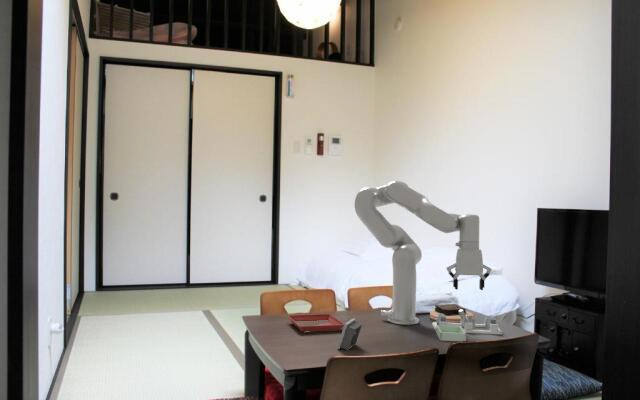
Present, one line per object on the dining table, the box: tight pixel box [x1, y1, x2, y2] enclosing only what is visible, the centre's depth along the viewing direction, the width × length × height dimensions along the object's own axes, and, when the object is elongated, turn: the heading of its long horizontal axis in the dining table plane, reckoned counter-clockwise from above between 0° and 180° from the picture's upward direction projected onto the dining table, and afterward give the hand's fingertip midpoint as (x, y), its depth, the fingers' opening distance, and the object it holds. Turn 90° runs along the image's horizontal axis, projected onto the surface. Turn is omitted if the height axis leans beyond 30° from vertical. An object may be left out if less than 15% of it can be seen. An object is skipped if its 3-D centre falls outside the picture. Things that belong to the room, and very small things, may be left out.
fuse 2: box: [486, 315, 497, 331], centre depth 210 cm, size 2×7×5 cm, turn 175°
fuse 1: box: [437, 313, 447, 325], centre depth 212 cm, size 2×7×5 cm, turn 175°
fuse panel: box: [431, 315, 503, 335], centre depth 211 cm, size 25×11×4 cm, turn 85°
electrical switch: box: [336, 318, 363, 351], centre depth 182 cm, size 9×5×9 cm, turn 158°
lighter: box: [458, 308, 476, 330], centre depth 211 cm, size 7×2×8 cm, turn 114°
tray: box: [435, 325, 467, 342], centre depth 199 cm, size 9×11×3 cm
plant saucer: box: [287, 313, 345, 333], centre depth 208 cm, size 18×18×3 cm
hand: (468, 289), depth 211 cm, fingers open, 9 cm apart
